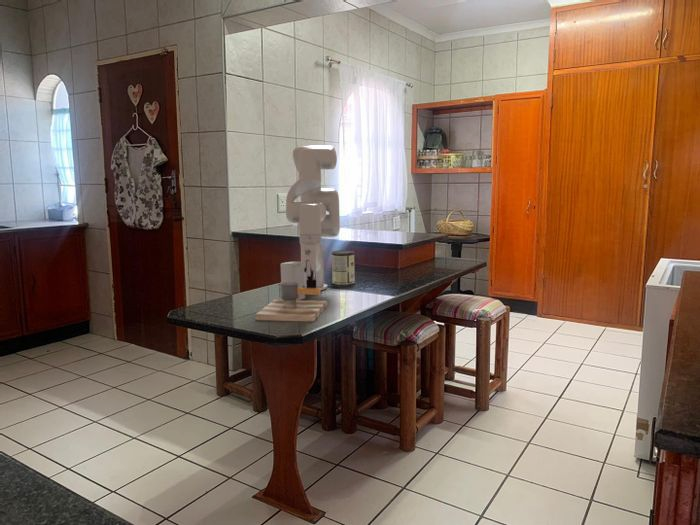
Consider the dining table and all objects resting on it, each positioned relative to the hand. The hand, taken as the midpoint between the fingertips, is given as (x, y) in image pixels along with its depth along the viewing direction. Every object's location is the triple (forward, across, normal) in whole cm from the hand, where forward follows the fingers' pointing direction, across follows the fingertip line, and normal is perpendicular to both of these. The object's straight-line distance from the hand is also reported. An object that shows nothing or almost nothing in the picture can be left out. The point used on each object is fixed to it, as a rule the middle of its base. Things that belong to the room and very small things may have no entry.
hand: (311, 290), depth 191 cm
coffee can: (+8, +54, -4) cm, 54 cm away
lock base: (+8, -2, +8) cm, 11 cm away
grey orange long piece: (+2, -2, +4) cm, 5 cm away
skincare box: (+8, +18, +11) cm, 23 cm away
